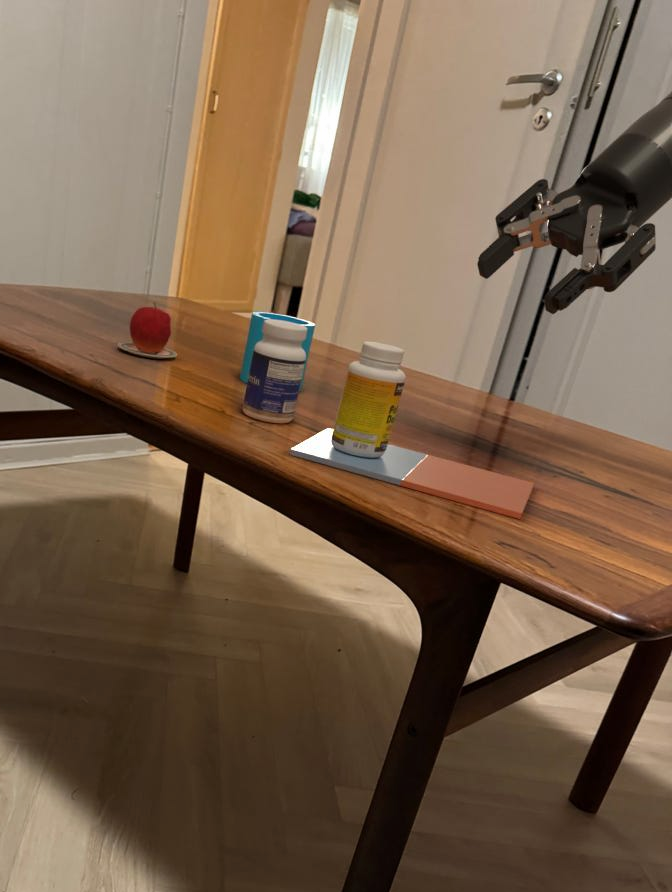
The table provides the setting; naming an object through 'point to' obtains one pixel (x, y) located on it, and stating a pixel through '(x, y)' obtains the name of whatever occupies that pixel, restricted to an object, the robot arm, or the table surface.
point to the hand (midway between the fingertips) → (513, 288)
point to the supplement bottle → (369, 401)
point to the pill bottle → (276, 372)
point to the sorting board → (425, 475)
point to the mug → (257, 335)
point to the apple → (149, 333)
